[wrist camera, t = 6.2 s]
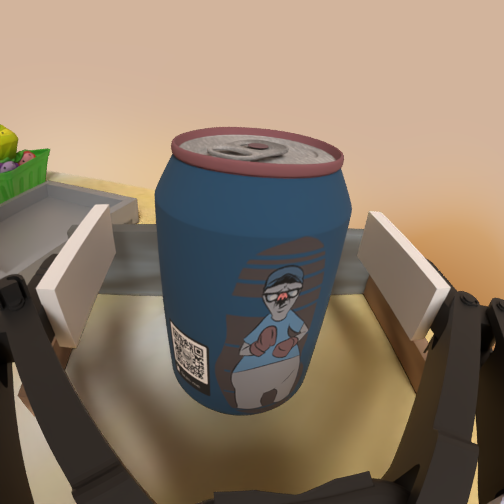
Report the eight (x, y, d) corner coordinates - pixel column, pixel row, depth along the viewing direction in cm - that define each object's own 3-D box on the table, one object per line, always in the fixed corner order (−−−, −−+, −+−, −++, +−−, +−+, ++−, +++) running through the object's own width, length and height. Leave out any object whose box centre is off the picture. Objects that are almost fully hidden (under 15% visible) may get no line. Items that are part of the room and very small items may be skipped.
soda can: (233, 312, 20) (245, 120, 14) (324, 367, 17) (387, 155, 11) (149, 370, 16) (113, 140, 9) (247, 452, 12) (290, 192, 6)
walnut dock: (435, 402, 14) (479, 344, 12) (34, 416, 11) (-11, 354, 9) (369, 285, 24) (386, 230, 21) (85, 284, 21) (72, 224, 19)
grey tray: (-47, 255, 22) (-54, 235, 20) (51, 198, 35) (48, 180, 33) (13, 313, 17) (2, 285, 16) (139, 221, 30) (137, 198, 29)
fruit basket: (15, 209, 32) (3, 124, 26) (-24, 210, 31) (-37, 134, 25) (55, 178, 41) (49, 109, 36) (17, 181, 41) (9, 116, 35)
